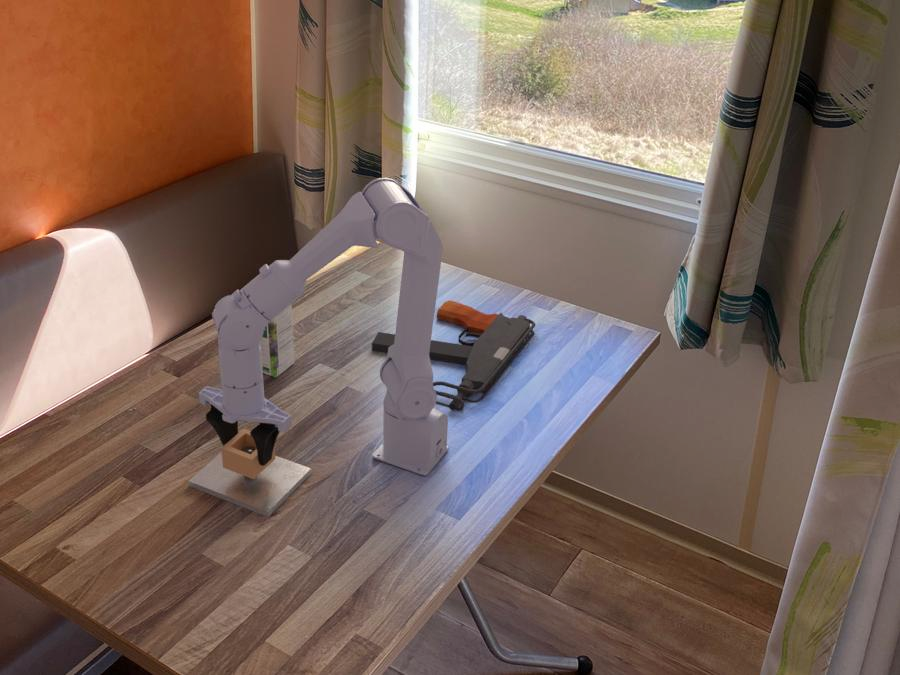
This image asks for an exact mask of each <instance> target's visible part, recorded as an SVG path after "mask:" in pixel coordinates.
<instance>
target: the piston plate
mask: <svg viewBox="0 0 900 675" xmlns="http://www.w3.org/2000/svg"><path fill="white" fill-rule="evenodd" d="M241 451H243V452H246V453H249V454H252V453H253V452H254V451H255V448H254V447H252V446H246V447H244V448H243V449H242V450H241ZM310 475H312V468H311V467H309V466H307V465H306V466H305V465H303V464H299V463H297V462H294V461H292V460H289V459H286V458H283V457H280V456H278V455H275V460H274V461H273V462H272V463H271V464H270V465H268V466H267V467H266V468H265V469H264V470H263V471H262V472H261V473H260V474H259V475H258V476H257V477H256V478H255V479H251V478H248V477H246V476H243V475H241V474H238V473H236V472H233V471H230V470H228V469H225V468H223V462H222V452H221V451H220V453H218V454H217V455H216V456H215V457H214V458H212V460H210V461H209V462H208V463H207V464H206V465H204V466H203V467H202V468H201V469H200V470H199V471H198V472H197V473H196V474H195V475H193V476H192V477H191V478H189V480H188V487H190V488H193V489H195V490H198V491H201V492H203V493H205V494H208V495H211V496H213V497H215V498H218V499H221V500H223V501H226V502H228V503H231V504H234V505H236V506H238V507H241V508H243V509H246V510H249V511H251V512H254V513H256V514H259V515H261V516H264V517H267V518H269V517H270V516H271V515H272V514H273V513H274V512H275V511H276V510H277V509H278V508H280V506H281V505H283V503H284V502H285V501H286V500H287V499H288V498H289V497H290V496H291V495H292V494H293V493H295V491H296V490H297V489H298V488H299V487H300V486H301V485H302V484H303V483H304V482H305V481H306V480H307V479H308V478H309V477H310Z"/></svg>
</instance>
